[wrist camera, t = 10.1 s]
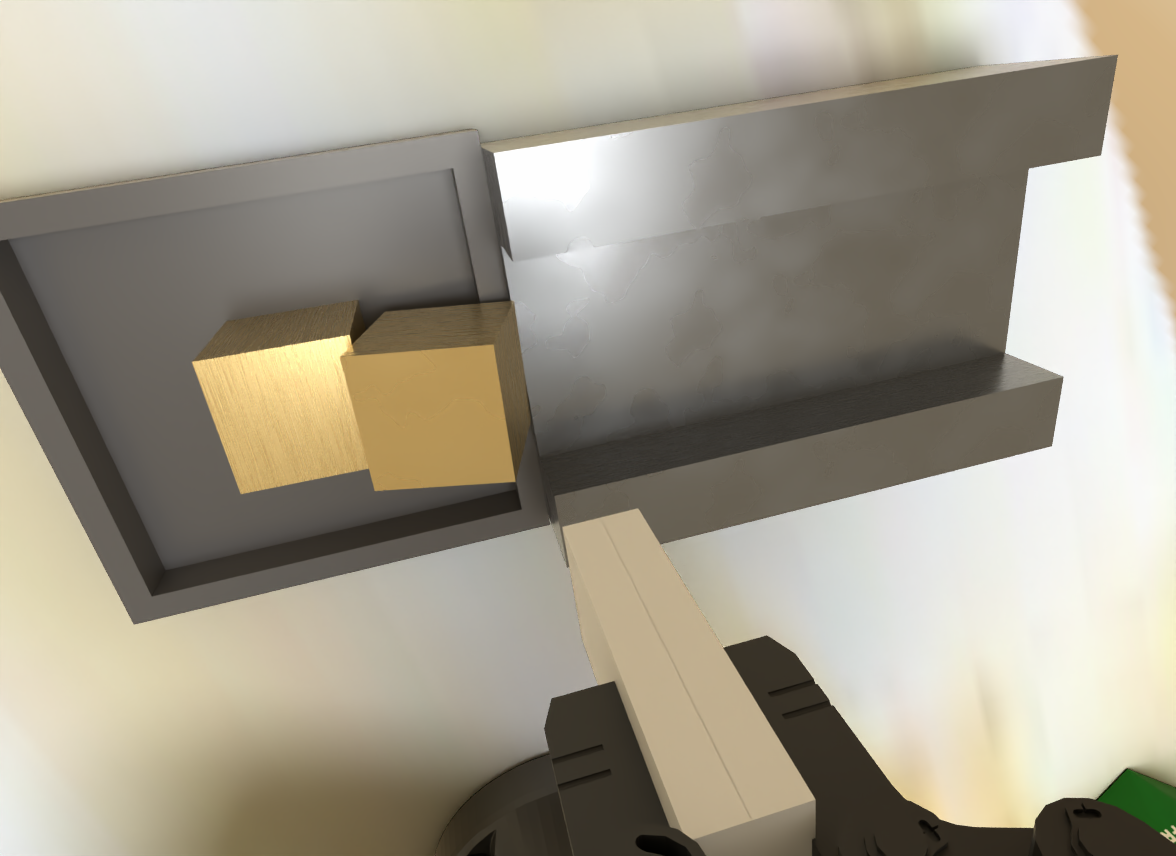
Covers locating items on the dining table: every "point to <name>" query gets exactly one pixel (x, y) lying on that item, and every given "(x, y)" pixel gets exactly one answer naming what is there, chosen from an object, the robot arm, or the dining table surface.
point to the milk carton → (1145, 801)
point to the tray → (190, 320)
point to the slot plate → (783, 291)
